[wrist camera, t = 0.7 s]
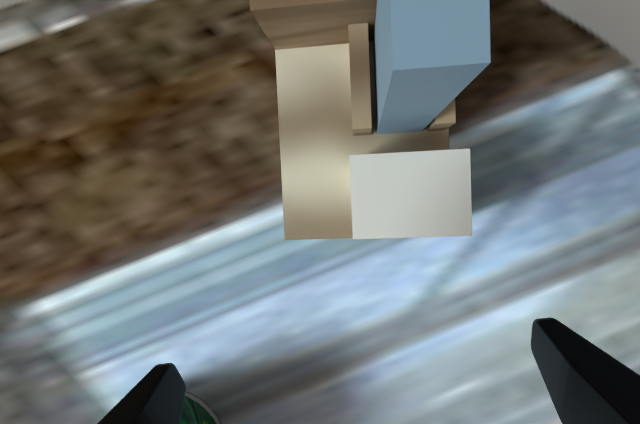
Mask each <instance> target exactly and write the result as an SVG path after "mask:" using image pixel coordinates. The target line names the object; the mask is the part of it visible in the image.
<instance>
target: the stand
mask: <svg viewBox="0 0 640 424" xmlns="http://www.w3.org/2000/svg"><path fill="white" fill-rule="evenodd" d="M376 7H377V0H250V11H251V12H252V14H253V16H254V17H255V19H256V20H257V22H258V23H259V25H260V27H261V28H262V30H263V31H264V33H265V35H266V36H267V38H268V39H269V41H270V42H271V44H272V46H273V47H274V49H275V55H276V75H277V95H278V114H279V134H280V154H281V174H282V194H283V213H284V233H285V240H301V239H334V238H353V234H352V209H351V184H350V159H349V155H362V154H380V153H398V152H416V151H434V150H449V127H450V126H452V125H453V124H455V123H456V111H455V98H454V99H453V100H452V101H451V102H450V103H449V104H448V105H447V106H446V107H445V108H444V109H443V110H442V111H441V112H440V113H439V114H438V115H437V116H436V117H435V118H434V119H433V120H432V121H431V122H430V123H429V124H428V125H427V126H426V127H425V128H424V129H423V130H422V131H421V132H408V133H392V134H377V127H376V99H375V72H374V34H375V20H376Z"/></svg>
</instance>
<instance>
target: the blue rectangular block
mask: <svg viewBox="0 0 640 424" xmlns="http://www.w3.org/2000/svg"><path fill="white" fill-rule="evenodd" d="M490 63H491V56H490V5H489V0H377V7H376V20H375V34H374V72H375V99H376V127H377V134H392V133H408V132H421V131H422V130H423V129H424V128H425V127H426V126H427V125H428V124H429V123H430V122H431V121H432V120H433V119H434V118H435V117H436V116H437V115H438V114H439V113H440V112H441V111H442V110H443V109H444V108H445V107H446V106H447V105H448V104H449V103H450V102H451V101H452V100H453V99H454V98H455V97H456V96H457V95H458V94H459V93H460V92H461V91H462V90H463V89H464V88H465V87H467V86H468V85H469V84H470V83H471V82H472V81H473V80H474V79H475V78H476V77H477V76H478V75H479V74H480V73H481V72H482V71H483V70H484V69H485V68H486V67H487V66H488V65H489V64H490Z"/></svg>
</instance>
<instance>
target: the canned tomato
mask: <svg viewBox="0 0 640 424" xmlns="http://www.w3.org/2000/svg"><path fill="white" fill-rule="evenodd" d="M180 424H221V423H220V421H219V420H218V418H217V416H216V415H215V413H214V412H213V411H212V410H211V409H210V407H209V406H208V405H206V404H205V403H204V402H203V401H202V400H200V399H199V398H197V397H195V396H194V395H192V394H190V393H187V392H185V396H184V402H183V408H182V413H181V419H180Z"/></svg>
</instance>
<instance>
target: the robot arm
mask: <svg viewBox="0 0 640 424" xmlns="http://www.w3.org/2000/svg"><path fill="white" fill-rule="evenodd" d="M531 349H532V353H533V355H534V358H535V360H536V362H537V365H538V367H539V370H540V372H541V375H542V377H543V379H544V382H545V384H546V387H547V389H548V392H549V394H550V396H551V399H552V401H553V404H554V406H555V409H556V411H557V413H558V415H559V418H560V420H561V422H562V424H640V375H638V374H637V373H635V372H634V371H632V370H631V369H629V368H628V367H627V366H625V365H624V364H622V363H621V362H619V361H618V360H616V359H615V358H613V357H612V356H610V355H609V354H607V353H606V352H604V351H603V350H601V349H600V348H598V347H597V346H595V345H594V344H592V343H591V342H589V341H588V340H586V339H585V338H583V337H582V336H580V335H579V334H577V333H576V332H574V331H573V330H571V329H570V328H568V327H567V326H565V325H564V324H562V323H561V322H559V321H558V320H556V319H554V318H542V319H536V320H534V322H533V325H532V336H531ZM184 396H185V383H184V381H183V379H182V377H181V375H180V374H179V372H178V370H177V368H176V367H175V365H174V364H172V363H166V364H159V365H156V366H155V367H154V368H153V369H152V370H151V371H150V372H149V373H148V374H147V375H146V376H145V377H144V378H143V379H142V380H141V381H140V382H139V383H138V384H137V385H136V386H135V387H134V388H133V389H132V390H131V391H130V392H129V393H128V394H127V395H126V396H125V397H124V398H123V399H122V400H121V401H120V402H119V403H118V404H117V405H116V406H115V407H114V408H113V409H112V410H111V411H110V412H109V413H108V414H107V415H106V416H105V417H104V418H103V419H102V420H101V421H100V422H99V423H98V424H180V419H181V413H182V408H183V402H184Z"/></svg>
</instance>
